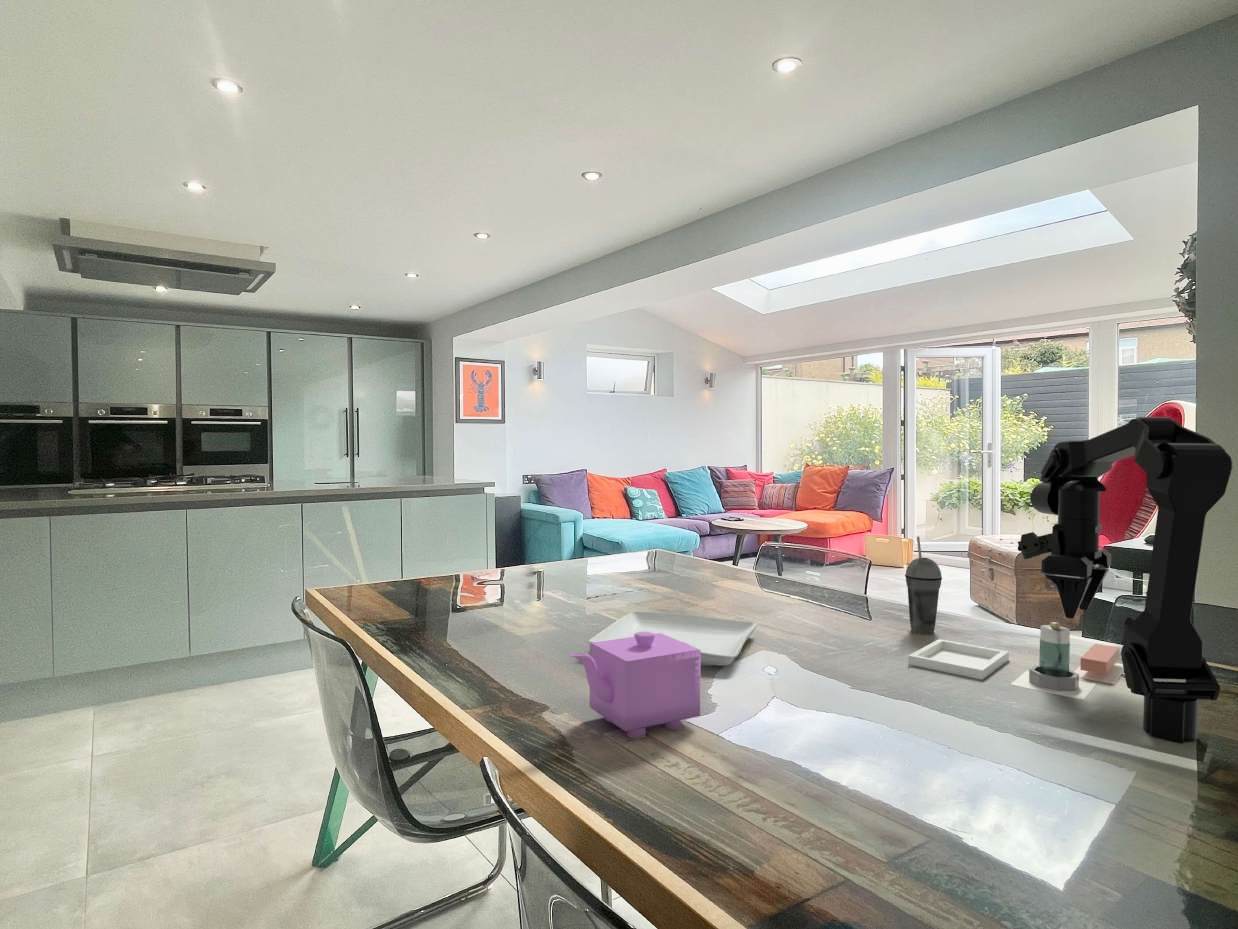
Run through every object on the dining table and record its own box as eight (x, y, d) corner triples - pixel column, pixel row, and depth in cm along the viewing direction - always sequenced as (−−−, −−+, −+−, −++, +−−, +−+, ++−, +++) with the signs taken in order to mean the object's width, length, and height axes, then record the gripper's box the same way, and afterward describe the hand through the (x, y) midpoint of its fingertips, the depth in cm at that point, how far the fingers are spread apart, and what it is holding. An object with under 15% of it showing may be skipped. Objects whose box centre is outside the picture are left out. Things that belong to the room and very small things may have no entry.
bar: (1106, 674, 118) (1106, 662, 118) (1080, 669, 120) (1080, 657, 120) (1119, 659, 127) (1119, 647, 127) (1094, 654, 129) (1095, 643, 129)
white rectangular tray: (982, 685, 118) (982, 670, 118) (908, 669, 126) (908, 655, 126) (1008, 665, 129) (1008, 651, 129) (938, 652, 137) (939, 639, 137)
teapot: (673, 701, 110) (674, 618, 110) (714, 723, 101) (715, 634, 101) (553, 725, 100) (553, 635, 100) (586, 752, 91) (587, 653, 91)
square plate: (735, 677, 123) (736, 654, 123) (585, 660, 131) (585, 639, 131) (758, 637, 148) (758, 619, 148) (631, 626, 157) (631, 608, 157)
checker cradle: (1099, 709, 108) (1099, 689, 107) (1010, 690, 116) (1010, 672, 116) (1128, 670, 127) (1128, 653, 127) (1049, 656, 135) (1050, 640, 135)
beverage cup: (945, 637, 148) (946, 539, 148) (907, 635, 150) (909, 538, 149) (936, 628, 155) (938, 535, 155) (900, 626, 157) (902, 534, 156)
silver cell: (1065, 690, 113) (1067, 627, 113) (1035, 684, 116) (1037, 623, 116) (1071, 684, 116) (1072, 623, 116) (1042, 678, 119) (1043, 618, 119)
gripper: (1039, 512, 131) (1037, 599, 131) (1006, 518, 117) (1005, 614, 118) (1112, 516, 123) (1111, 608, 123) (1086, 523, 110) (1085, 626, 110)
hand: (1076, 613), depth 119 cm, fingers open, 9 cm apart
